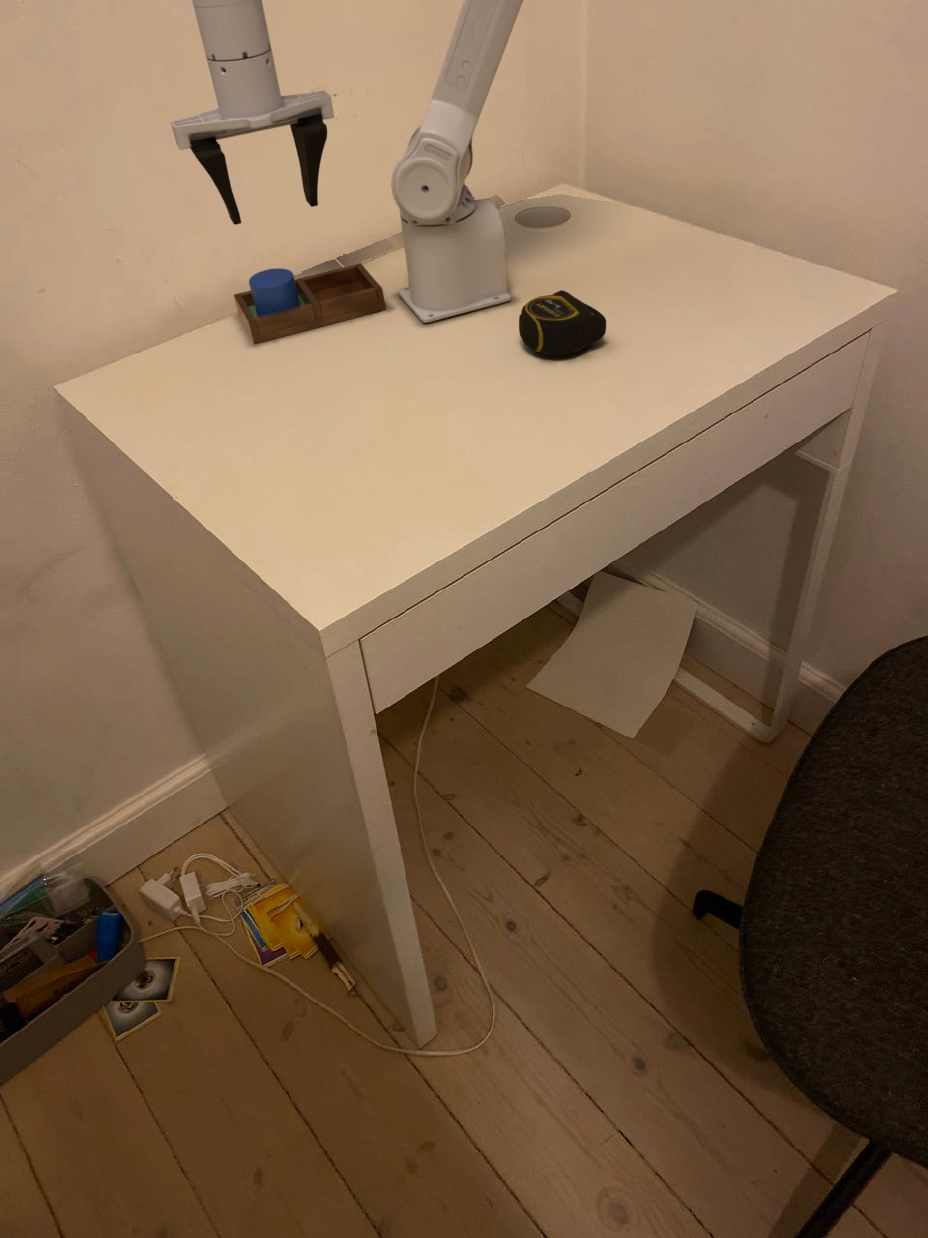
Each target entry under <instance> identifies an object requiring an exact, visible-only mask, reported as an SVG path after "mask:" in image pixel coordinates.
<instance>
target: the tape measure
mask: <svg viewBox="0 0 928 1238" xmlns="http://www.w3.org/2000/svg"><path fill="white" fill-rule="evenodd" d="M518 317H519V318H518V329H519V330H518V332H519V336H520V338H521V340H522V342H523V344H524V346H526V347H527V348H529V349H530V350H532V351H534V352H536V353H540V354H543V355H550V356H563V355H570V354H574V353H576V352H579V351H580V350H583V349H584V348H586V347H588V346H590V345H591V344H594V343H596V342H598V341H599V340H601V339H603V337H604V336H605V335H606V333H607V318H606V316H605V315H604V314H603V313H601V312H600V311H599V310H597V309H596V308H594V307H592V306H591V305H588V304H587V303H585V302H583V301H582V300H580V299H578V298H576V297H575V296H573V295H572V294H571V293H570V292H568V291H566V290H558V291H556V292H553V294H549V295H540V296H537V297H534V298H532V299H531V300H529V301H528V302H527V303H525V305H523V306H522V308H521V311H520V315H519V316H518Z"/></svg>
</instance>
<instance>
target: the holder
mask: <svg viewBox="0 0 928 1238" xmlns="http://www.w3.org/2000/svg"><path fill="white" fill-rule="evenodd" d="M294 280H295V285H296V289H297V294H298V298H299V303H300V306H299V307H295V308H291V309H287V310H284V311H280V312H276V313H272V314H268V315H264V316H260V317H258V316H257V312H256V309H255V305H254V301H253V297H252V293H251V290H247V291H242V292H238V293H235V294H233V298H234V302H235V306H236V309H237V313H238V316H239V318H240V320H241V321H242V324H243V325H244V328H245V330H246V331H247V333H248V335H249V337H250V339H251V340H252V343H253V344H254V345H256V344H260V343H263V342H268V341H272V340H275V339H279V338H283V337H287V336H290V335H295V334H298V333H302V332H306V331H309V330H313V329H318V328H321V327H325V326H329V325H332V324H337V323H340V322H344V321H348V320H352V319H356V318H360V317H363V316H368V315H371V314H375V313H378V312H382V311H386V304H385V298H384V290H383V287H382V286H381V285H380V284H379V282H378V281H377V280H376V279H375V278H374V277H373V276H372V275H371V273H370V272H369V271H368V270H367V269H366V268H365V266H364V265H363V264H362V263H361V262H360V263H356V264H351V265H347V266H344V267H339V268H335V269H331V270H327V271H323V272H319V273H315V274H312V275H307V276H303V277H299V278H296V279H295V278H294Z"/></svg>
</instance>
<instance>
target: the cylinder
mask: <svg viewBox="0 0 928 1238" xmlns="http://www.w3.org/2000/svg"><path fill="white" fill-rule="evenodd" d="M248 284H249V289H250V291H251V293H252V297H253V301H254V305H255V309H256V312H257V316H258V317H260V316H264V315H268V314H272V313H276V312H280V311H284V310H287V309H291V308H295V307H299V306H300V303H299V298H298V294H297V289H296V285H295V275H294V273H293V271H291V270H290V269H287V268H280V267H279V268H277V267H276V268H269V269H264V270H261V271H259V272H256V273H255V274H253V275H252V276H251V277H249V280H248Z"/></svg>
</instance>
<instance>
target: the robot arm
mask: <svg viewBox="0 0 928 1238" xmlns="http://www.w3.org/2000/svg"><path fill="white" fill-rule="evenodd" d="M191 1H192V5H193V9H194V13H195V18H196V21H197V25H198V30H199V34H200V37H201V41H202V46H203V50H204V55H205V58H206V62H207V67H208V70H209V74H210V78H211V79H210V80H211V83H212V87H213V91H214V94H215V99H216V104H217V107H218V108H215V109H211V110H207V111H205V112H202V113H199V114H195V115H191V116H188V117H185V118H181V119H177V120H172V121H170V126H171V129H172V132H173V136H174V140H175V143H176V145H177V147H178V149H179V151H183V150H188V149H190V150H191V152H192V154H193V155H194V156H195V159H197V161H198V162H199V164H200V165H201V166H202V168H203V169H204V170H205V171H206V173H207V174H208V176H209V177H210V179H211V181H212V182H213V184H214V185H215V188H216V189H217V191H218V193H219V195H220V197H221V199H222V200H223V203H224V205H225V208H226V210H227V212H228V215H229V219H230V220H231V222H232V223H233V225H235V226H236V225H240V224H242V219H241V214H240V211H239V208H238V205H237V202H236V198H235V196H234V193H233V188H232V184H231V179H230V175H229V171H228V170H229V169H228V164H227V159H226V154H225V153H224V152H223V151H222V148H221V145H220V143H219V142H218V141H219V140H224V139H229V138H232V137H233V138H234V137H238V136H243V135H248V134H252V133H257V132H261V131H267V130H273V129H277V128H281V127H286V126H290V131H291V134H292V138H293V142H294V147H295V149H296V150H295V151H296V154H297V158H298V162H299V168H300V176H301V182H302V183H301V184H302V189H303V194H304V197H305V201H306V203H307V204H308V205H309V206H310V207H311V208H313V207H317V206H319V197H318V195H319V194H318V193H319V192H318V190H319V189H318V187H319V175H320V167H321V161H322V157H323V152H324V149H325V145H326V142H327V139H328V127H327V124H326V123H325V122H324V120H329V119H333V118H335V114H334V108H333V103H332V95H331V94H330V93H328V92H327V91H326V90H320V91H313V92H307V93H298V94H297V93H296V94H288V95H282V94H281V89H280V85H279V84H280V83H279V78H278V74H277V73H278V72H277V68H276V64H275V59H274V54H273V49H272V48H273V47H272V45H271V40H270V39H271V38H270V35H269V29H268V25H267V24H268V23H267V19H266V15H265V9H264V4H263V0H191ZM523 2H524V0H463V3H462V6H461V8H460V11H459V15H458V17H457V21H456V24H455V27H454V29H453V32H452V36H451V39H450V41H449V44H448V47H447V50H446V53H445V55H444V59H443V61H442V64H441V68H440V71H439V75H438V77H437V80H436V82H435V83H436V84H435V86H434V88H433V89H434V90H433V92H432V95H431V97H430V101H429V103H428V105H427V109H426V111H425V113H424V116H423V118H422V122H421V124H420V125H419V126H418V127H417V128H416V129H415V130H414V132H413V133H412V134H411V136H410V139H409V142H408V143H407V148H406V150H405V152H404V154H403V156H402V157H401V158H400V159H399V161H398V162H397V163H396V165H395V167H394V169H393V171H392V175H391V179H390V180H391V194H392V196H393V199H394V201H395V203H396V205H397V207H398V208H399V209H398V210H399V216H400V223H401V231H402V240H403V247H404V255H405V263H406V269H407V276H408V277H407V278H408V283H409V285H408V286H406V287H402V288H400V289H398V290H397V295H398V297H400V298H401V299H402V300H403V302H404V303H405V304H406V305H407V307H408V308H409V309H410V310H411V311H412V312H413V313H414V314H415V315H416V316H417V318H418V319H419V320H420V321H421V322H422V323H425V324H426V323H427V324H428V323H431V322H436V321H439V320H442V319H446V318H450V317H453V316H458V315H461V314H465V313H468V312H472V311H478V310H481V309H483V308H489V307H491V306H495V305H499V304H502V303H507V302H509V301H511V299H512V296H511V294H510V293H509V290H508V274H507V257H506V240H505V239H506V238H505V231H504V230H505V229H504V226H503V221H502V217H501V215H500V211H499V210H498V208H497V205H496V204H495V203H494V202H493V200H492V199H490V198H481V199H476V198H475V196H473V194H472V192H471V190H470V189H469V186H467V185H466V184H465V183H466V179H467V177H468V176H469V174H470V173H471V170H472V166H473V162H474V152H473V136H474V133H475V130H476V127H477V125H478V122H479V120H480V117H481V114H482V111H483V108H484V106H485V103H486V101H487V98H488V95H489V92H490V90H491V87H492V84H493V82H494V80H495V77H496V74H497V71H498V69H499V66H500V64H501V62H502V61H501V60H502V58H503V55H504V53H505V50H506V48H507V45H508V42H509V39H510V36H511V35H512V31H513V29H514V26H515V24H516V21H517V18H518V16H519V13H520V10H521V8H522V5H523Z"/></svg>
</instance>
